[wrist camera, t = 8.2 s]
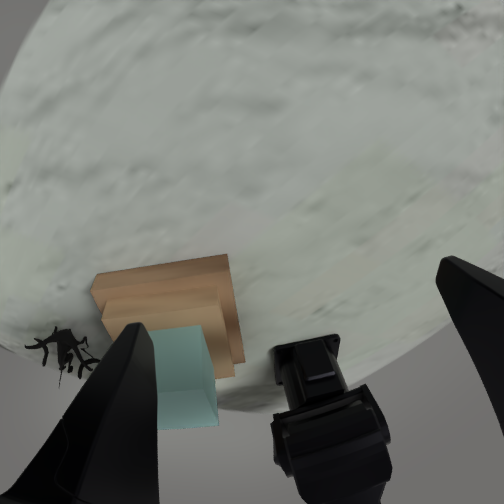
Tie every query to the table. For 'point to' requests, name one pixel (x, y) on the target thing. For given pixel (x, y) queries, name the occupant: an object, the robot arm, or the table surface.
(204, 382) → the teal block
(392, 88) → the table surface
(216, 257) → the plinth
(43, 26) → the table surface
